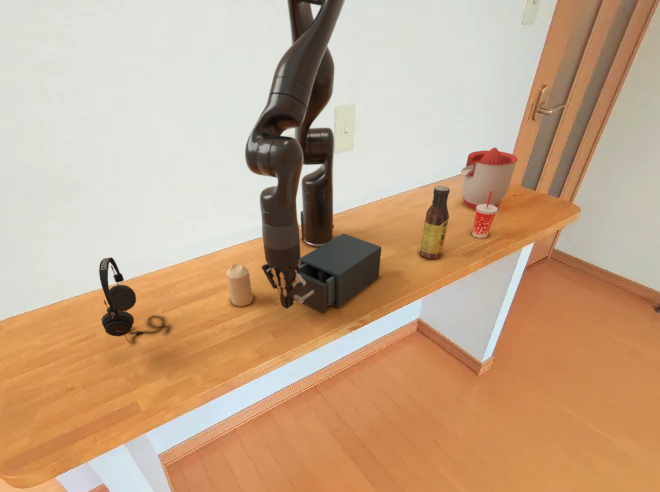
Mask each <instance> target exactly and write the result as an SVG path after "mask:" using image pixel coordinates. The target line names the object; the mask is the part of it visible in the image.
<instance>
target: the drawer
mask: <svg viewBox="0 0 660 492" xmlns="http://www.w3.org/2000/svg"><path fill="white" fill-rule="evenodd" d="M298 266H299V269H300V275H301V277H302V278H303V279H305V278H306V279H308V281H309V283H308V284H307V285H306V286H305V287H304V288H303V289H302V290H301V291H300V292H299V293H298V294H296V295H294V296H293V302H294V301H295V302H296V303H298V304H300V305H302V304H303V303H304V304H305V305H307V306H309V307H311V308H313V309H315V310H316V311H319V312H320V313H322V314H325V313H327V312H328V307H330V306H331V305H332V303H334V302H335V301H336V277H335V276H333V275H331V274H329V279H327V280H326V284H325V283H323V282H321V281H319V272H318V271H319V269H317V268H315V267H313V266H310V265H308V264H306V263H304V264H303V265H301V266H300V265H298ZM294 286H295V285H294Z"/></svg>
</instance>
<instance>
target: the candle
mask: <svg viewBox="0 0 660 492" xmlns="http://www.w3.org/2000/svg"><path fill="white" fill-rule="evenodd" d="M225 275H226V280H227V284H228V290H229V296H230V300H231V303H232V304H233V305H234V306H236V307H245V306H248V305H249V304H251V303H252V302H253V300H254V299H253V298H254V297H253V291H252V284H251V278H250V270H249V268H248V267H246V266H244V265H243V264H240V263H239V264H237V263H234V264H232V265H231V266H230V267H229V268H228V269H227V270H226V272H225Z"/></svg>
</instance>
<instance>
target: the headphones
mask: <svg viewBox="0 0 660 492" xmlns="http://www.w3.org/2000/svg"><path fill="white" fill-rule="evenodd" d="M110 264H111V265H110ZM109 267H110V268H111V270H112V272H113V280H114V282H115V283H117V284H116V285H113V286H112V287H110V285H109ZM115 272H116V273H115ZM98 275H99V280H100V285H101V288H102V291H103V293H104V297H105V299H106V300H105V299H104V300H103V303H104V305H105V306H106V313H105V314H103V316H102V317H101V325H102V327H103V329H104V330H105V331H104V332H105V333H106V334H108V335H110V336H111V337H123V336H124V337H125V339H126V340H127V342H128V343H129V344H132V343H133V342H134V338H135V337H136V336H139V335H142V334H144V333H146V334H153V333H157V332H159V331H161V329H163V328H167V330H166V332H165V333H167V332H168V331H169V329H170V327H169V326H164V324H162V325H161V326H160V328H159V330H156V331H151V332H148V331H134V332H133V334H135V335H134V336H133V337H132V341H129V339H128V338H127V334H130V333H131V331H132V330H133V325H134V324H135V318H134V316H133V314H131V313H129V312H128V311H129V310H131V309H132V308H134V306H135V305H136V303H137V296H136V292H135V291H134V290H133V288H131V287H130V286H128V285H126V284H120V283H122V282H124V281H125V278H124V276H123V273H121V272H120V269H119V267H118V265H117V262H116V260H115V259H114V258H113V257H111V256H110V257H106V258H105V257H104V258H102V260H101V261H100V262H99V267H98ZM151 318H157V316H155V315H154V316H151V317H150V319H151ZM160 319H161V321H164V319H163V318H162V317H160ZM148 325H149V326H150V327H153V328H155V326H154V325H151V323H148Z"/></svg>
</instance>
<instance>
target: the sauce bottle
mask: <svg viewBox="0 0 660 492" xmlns="http://www.w3.org/2000/svg"><path fill="white" fill-rule="evenodd" d="M450 189H451V188H450V187H449V186H446V185H437V186H436V185H435V186H434V188H433V198H432V201H431V202H432V203H431V205H430V206H429V208H428V209H427V211H426V212H425V219H424V223H423V224H424V225H423V230H422V236H421V242H420V243H421V244H420V255H421V256H422V257H423V258H425V259H430V260H435V259H438V258H440V257H441V256H442V253H443V250H444V244H445V239H446V236H447V235H446V234H447V230H448V225H449V224H448V223H449V220H450V214H449V210H448V199H449V194H450V193H451V192H450V191H451V190H450Z"/></svg>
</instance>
